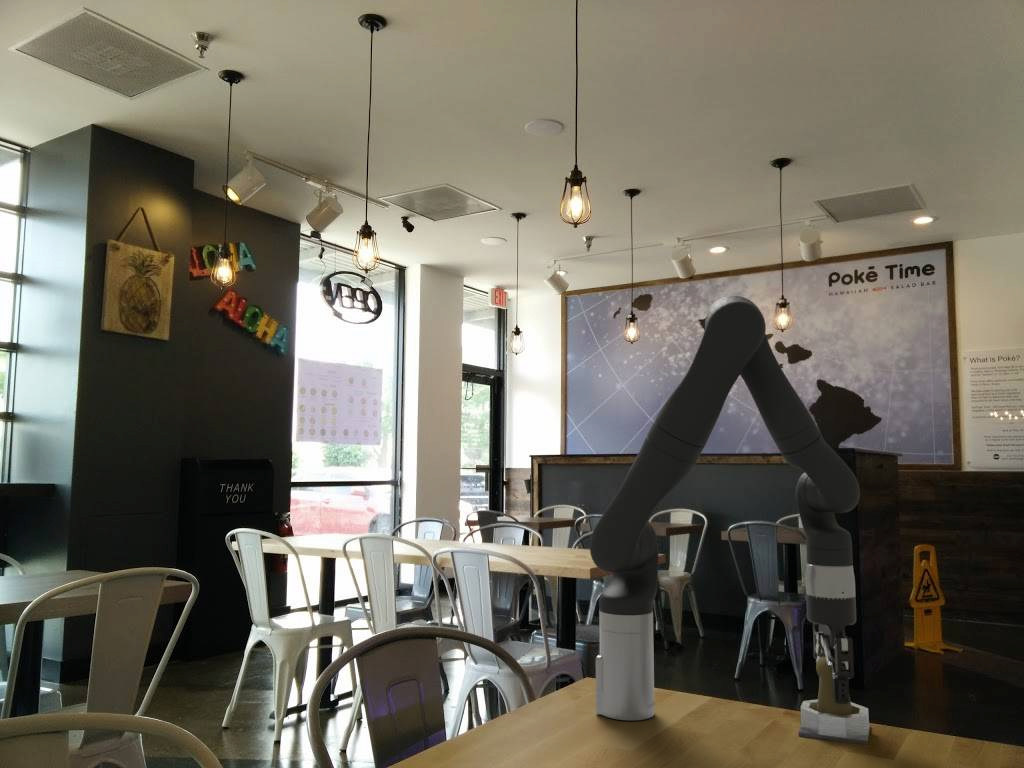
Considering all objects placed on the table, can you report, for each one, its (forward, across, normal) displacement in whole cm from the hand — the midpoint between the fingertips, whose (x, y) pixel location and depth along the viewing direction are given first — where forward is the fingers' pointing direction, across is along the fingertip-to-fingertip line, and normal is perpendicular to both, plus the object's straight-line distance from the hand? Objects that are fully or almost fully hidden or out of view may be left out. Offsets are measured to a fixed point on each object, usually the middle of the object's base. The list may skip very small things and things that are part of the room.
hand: (833, 696), depth 136 cm
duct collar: (+5, 0, 0) cm, 5 cm away
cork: (+5, 0, 0) cm, 5 cm away
